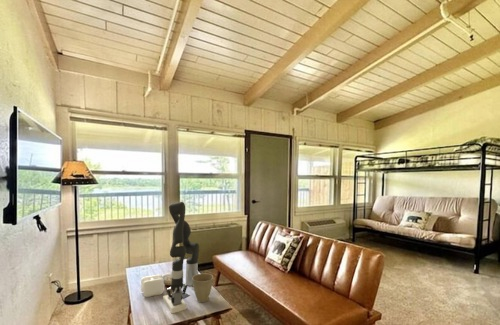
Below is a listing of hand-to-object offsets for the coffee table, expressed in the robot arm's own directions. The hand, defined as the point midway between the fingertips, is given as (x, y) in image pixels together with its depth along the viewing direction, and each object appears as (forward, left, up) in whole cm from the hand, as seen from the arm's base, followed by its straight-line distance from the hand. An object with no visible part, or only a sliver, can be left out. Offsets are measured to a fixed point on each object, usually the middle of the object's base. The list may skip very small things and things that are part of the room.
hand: (176, 301), depth 172 cm
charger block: (0, 0, -2) cm, 2 cm away
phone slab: (-9, -15, -5) cm, 18 cm away
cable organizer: (+9, -29, -4) cm, 31 cm away
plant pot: (-19, 0, -4) cm, 19 cm away
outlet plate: (0, -4, -4) cm, 6 cm away
